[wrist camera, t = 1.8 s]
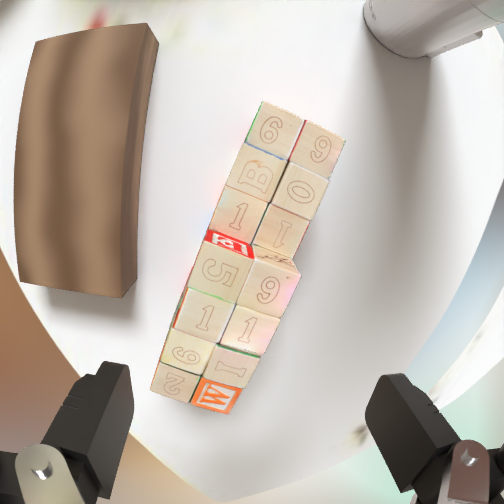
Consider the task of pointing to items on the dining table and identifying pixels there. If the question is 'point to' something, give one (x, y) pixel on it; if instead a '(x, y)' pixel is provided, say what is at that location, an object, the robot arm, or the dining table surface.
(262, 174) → the stack of blocks
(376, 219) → the dining table surface
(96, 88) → the walnut block
